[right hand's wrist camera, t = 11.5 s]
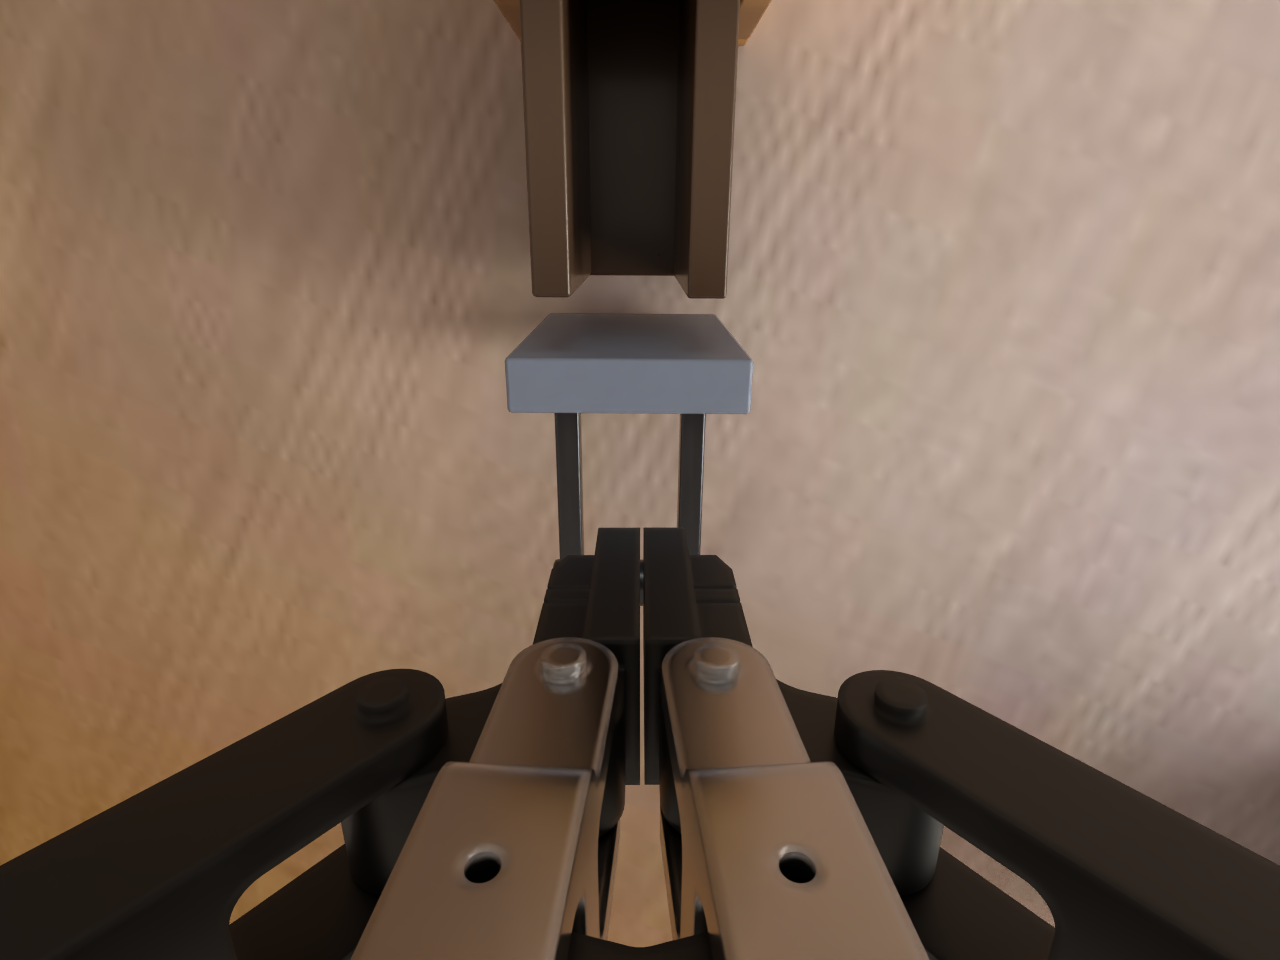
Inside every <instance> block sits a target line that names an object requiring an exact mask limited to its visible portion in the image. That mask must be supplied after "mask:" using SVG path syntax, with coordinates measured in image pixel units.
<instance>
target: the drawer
mask: <svg viewBox="0 0 1280 960" xmlns="http://www.w3.org/2000/svg"><path fill="white" fill-rule="evenodd" d="M519 11H520V33H521V55H522V77H523V99H524V121H525V143H526V165H527V187H528V209H529V231H530V253H531V275H532V293H533V295H534V296H535V297H569V296H570V295H571V294H572V293H573V292H574V291H575V290H576V289H577V288H578V287H579V286H580V285H581V284H582V283H583V282H584V281H585V280H586V279H587V277H588V276H589V275H653V276H675V278H676V279H677V281H678V282H679V284H680V285H681V287H682V288H683V290H684V292H685V293H686V295H687V296H688V297H689V298H725V297H726V288H727V267H728V246H729V224H730V203H731V182H732V161H733V139H734V118H735V97H736V76H737V54H738V33H739V12H740V0H519ZM505 372H506V388H507V405H508V410H509V412H512V413H555V436H556V463H557V491H558V518H559V545H560V559H557V560H555V562H554V566H553V568H554V567H555V566H556V565H557V564H559V563H560V562H561V561H562V560H563V559H564V558H565V557H566V556H567V555H584V532H583V489H582V447H581V413H664V414H680V434H679V471H678V509H677V528H685V530H686V537H687V544H688V550H689V555H700V543H701V518H702V493H703V467H704V442H705V417H706V414H747V413H749V411H750V405H751V388H752V372H753V361H752V359H751V358H750V357H749V356H748V354H747V353H746V352H745V351H744V349H743V348H742V347H741V346H740V344H739V343H738V342H737V341H736V340H735V338H734V337H733V336H732V335H731V333H730V332H729V331H728V330H727V328H726V327H725V326H724V325H723V324H722V322H721V321H720V320H719V319H718V317H717V316H716V315H714V314H557V313H551V314H549V315H548V316H547V317H546V318H545V319H544V320H543V321H542V322H541V323H540V324H539V325H538V326H537V327H536V328H535V329H534V330H533V331H532V332H531V333H530V334H529V335H528V336H527V337H526V339H525V340H524V341H523V342H522V343H521V344H520V345H519V346H518V347H517V348H516V349H515V350H514V351H513V352H512V353H511V354H510V355H509V356H508V357H507V358H506V360H505ZM643 582H644V560H640V606H643Z"/></svg>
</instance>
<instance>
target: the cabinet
mask: <svg viewBox="0 0 1280 960" xmlns="http://www.w3.org/2000/svg"><path fill="white" fill-rule="evenodd" d="M494 1H495V3H496V4H497V6H498V7H499V9H500V11H501V12H502V14H503V15H504V17H505V18H506V20H507V21H508V23H509V24H510V26H511V27H512V29H513V30H514V32H515V33H516V35H517V36H518V38H519V39H520V41H521V33H520V11H519V0H494ZM770 2H771V0H740V12H739V33H738V45H745V44H746V42H747V41H748V39H749V37H750V36H751V34H752V32H753V30H754V29H755V27H756V25H757V24H758V22H759V20H760V19H761V17H762V15H763V14H764V12H765V10H766V9H767V7H768V5H769V3H770Z"/></svg>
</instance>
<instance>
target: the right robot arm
mask: <svg viewBox="0 0 1280 960" xmlns="http://www.w3.org/2000/svg"><path fill="white" fill-rule="evenodd" d="M643 640H644V760H645V785H660V841H661V849H662V857H663V865H664V873H665V881H666V889H667V897H668V905H669V913H670V921H671V929H672V937H673V941H669V942H665V943H662V944H658V945H654V946H649V947H631V946H626V945H622V944H618V943H615V942H611V941H607V937H608V929H609V921H610V913H611V905H612V897H613V889H614V881H615V873H616V865H617V857H618V849H619V841H620V817H621V816H622V813H623V810H624V804H625V785H640V528H598V535H597V542H596V550H595V555H567V556H566V557H565V558H564V559H563V560H562V561H561V562H560V563H559V564H557V565H556V566H555V567H554V568H553V569H552V571H551V575H550V579H549V583H548V589H547V591H546V594H545V598H544V603H543V606H542V610H541V614H540V618H539V622H538V626H537V630H536V634H535V638H534V642H533V645H531V646H529V647H528V648H526V649H524V650H523V651H521V652H520V653H519V654H518V655H517V656H516V657H515V658H514V659H513V661H512V662H511V664H510V666H509V669H508V671H507V673H506V676H505V678H504V681H503V683H501V684H499V685H497V686H495V687H492V688H489V689H486V690H483V691H479V692H475V693H470V694H466V695H461V696H456V697H452V698H447V699H445V694H444V689H443V686H442V684H441V683H440V682H439V680H438V679H436V678H435V677H434V676H432V675H430V674H428V673H426V672H422V671H419V670H413V669H391V670H384V671H379V672H375V673H371V674H368V675H366V676H363V677H360V678H358V679H356V680H354V681H352V682H350V683H348V684H346V685H344V686H342V687H340V688H338V689H336V690H334V691H332V692H331V693H329V694H327V695H325V696H323V697H321V698H319V699H317V700H315V701H313V702H312V703H310V704H308V705H306V706H304V707H302V708H300V709H298V710H296V711H294V712H292V713H291V714H289V715H287V716H285V717H283V718H281V719H279V720H277V721H275V722H273V723H271V724H270V725H268V726H266V727H264V728H262V729H260V730H258V731H256V732H254V733H252V734H251V735H249V736H247V737H245V738H243V739H241V740H239V741H237V742H235V743H233V744H231V745H230V746H228V747H226V748H224V749H222V750H220V751H218V752H216V753H214V754H212V755H211V756H209V757H207V758H205V759H203V760H201V761H199V762H197V763H195V764H193V765H191V766H190V767H188V768H186V769H184V770H182V771H180V772H178V773H176V774H174V775H172V776H170V777H169V778H167V779H165V780H163V781H161V782H159V783H157V784H155V785H153V786H151V787H150V788H148V789H146V790H144V791H142V792H140V793H138V794H136V795H134V796H132V797H130V798H129V799H127V800H125V801H123V802H121V803H119V804H117V805H115V806H113V807H111V808H110V809H108V810H106V811H104V812H102V813H100V814H98V815H96V816H94V817H92V818H90V819H89V820H87V821H85V822H83V823H81V824H79V825H77V826H75V827H73V828H71V829H69V830H68V831H66V832H64V833H62V834H60V835H58V836H56V837H54V838H52V839H50V840H49V841H47V842H45V843H43V844H41V845H39V846H37V847H35V848H33V849H31V850H29V851H28V852H26V853H24V854H22V855H20V856H18V857H16V858H14V859H12V860H10V861H9V862H7V863H5V864H3V865H1V866H0V960H1280V866H1279V865H1277V864H1275V863H1273V862H1272V861H1270V860H1268V859H1266V858H1264V857H1262V856H1260V855H1258V854H1256V853H1254V852H1252V851H1251V850H1249V849H1247V848H1245V847H1243V846H1241V845H1239V844H1237V843H1235V842H1233V841H1232V840H1230V839H1228V838H1226V837H1224V836H1222V835H1220V834H1218V833H1216V832H1214V831H1212V830H1211V829H1209V828H1207V827H1205V826H1203V825H1201V824H1199V823H1197V822H1195V821H1193V820H1191V819H1190V818H1188V817H1186V816H1184V815H1182V814H1180V813H1178V812H1176V811H1174V810H1172V809H1171V808H1169V807H1167V806H1165V805H1163V804H1161V803H1159V802H1157V801H1155V800H1153V799H1151V798H1150V797H1148V796H1146V795H1144V794H1142V793H1140V792H1138V791H1136V790H1134V789H1132V788H1131V787H1129V786H1127V785H1125V784H1123V783H1121V782H1119V781H1117V780H1115V779H1113V778H1111V777H1110V776H1108V775H1106V774H1104V773H1102V772H1100V771H1098V770H1096V769H1094V768H1092V767H1090V766H1089V765H1087V764H1085V763H1083V762H1081V761H1079V760H1077V759H1075V758H1073V757H1071V756H1070V755H1068V754H1066V753H1064V752H1062V751H1060V750H1058V749H1056V748H1054V747H1052V746H1050V745H1049V744H1047V743H1045V742H1043V741H1041V740H1039V739H1037V738H1035V737H1033V736H1031V735H1029V734H1028V733H1026V732H1024V731H1022V730H1020V729H1018V728H1016V727H1014V726H1012V725H1010V724H1009V723H1007V722H1005V721H1003V720H1001V719H999V718H997V717H995V716H993V715H991V714H989V713H988V712H986V711H984V710H982V709H980V708H978V707H976V706H974V705H972V704H970V703H969V702H967V701H965V700H963V699H961V698H959V697H957V696H955V695H953V694H951V693H949V692H948V691H946V690H944V689H942V688H940V687H938V686H936V685H934V684H932V683H930V682H928V681H926V680H924V679H921V678H919V677H916V676H913V675H910V674H906V673H902V672H896V671H886V670H873V671H866V672H862V673H858V674H855V675H853V676H851V677H849V678H848V679H847V680H846V681H844V683H843V684H842V685H841V687H840V689H839V692H838V698H835V697H830V696H825V695H821V694H816V693H811V692H807V691H803V690H799V689H797V688H794V687H791V686H789V685H786V684H784V683H782V682H780V681H778V680H777V679H776V678H775V676H774V673H773V671H772V669H771V666H770V664H769V662H768V661H767V659H766V658H765V657H764V656H763V655H762V654H761V653H760V652H759V651H757V650H756V649H754V648H753V647H752V643H751V639H750V636H749V632H748V628H747V624H746V620H745V617H744V613H743V609H742V605H741V603H740V598H739V594H738V590H737V589H736V583H735V579H734V575H733V572H732V569H731V568H730V567H729V566H728V565H726V564H725V563H724V562H723V561H722V560H721V559H720V558H719V557H717V556H716V555H689V550H688V544H687V537H686V530H685V528H644V582H643ZM340 822H341V825H342V830H343V835H344V841H345V844H344V845H342V846H341V847H339V848H338V849H337V850H335V851H334V852H332V853H331V854H330V855H328V856H327V857H325V858H324V859H322V860H321V861H320V862H318V863H317V864H315V865H314V866H313V867H311V868H310V869H308V870H307V871H305V872H304V873H303V874H301V875H300V876H298V877H297V878H295V879H294V880H293V881H291V882H290V883H288V884H287V885H286V886H284V887H283V888H281V889H280V890H278V891H277V892H276V893H274V894H273V895H271V896H270V897H269V898H267V899H266V900H264V901H263V902H261V903H260V904H259V905H257V906H256V907H254V908H253V909H252V910H250V911H249V912H247V913H246V914H244V915H243V916H242V917H240V918H239V919H237V920H236V921H235V922H233V923H232V924H230V925H229V920H230V916H231V913H232V911H233V908H234V906H235V904H236V903H237V901H238V899H239V898H240V897H241V895H242V894H243V893H244V891H245V890H246V889H247V888H248V887H249V886H250V885H251V884H252V883H253V882H254V881H255V880H257V879H258V878H259V877H261V876H262V875H263V874H265V873H266V872H268V871H269V870H271V869H272V868H274V867H275V866H277V865H278V864H280V863H281V862H283V861H284V860H285V859H287V858H288V857H290V856H291V855H293V854H294V853H296V852H297V851H299V850H300V849H302V848H303V847H305V846H306V845H308V844H309V843H311V842H312V841H314V840H315V839H317V838H318V837H319V836H321V835H322V834H324V833H325V832H327V831H328V830H330V829H331V828H333V827H334V826H336V825H337V824H339V823H340ZM944 826H946V827H947V828H949V829H950V830H952V831H953V832H955V833H956V834H958V835H959V836H961V837H962V838H964V839H965V840H966V841H968V842H969V843H971V844H972V845H974V846H975V847H977V848H978V849H980V850H981V851H983V852H984V853H986V854H987V855H989V856H990V857H992V858H993V859H995V860H996V861H997V862H999V863H1000V864H1002V865H1003V866H1005V867H1006V868H1008V869H1009V870H1011V871H1012V872H1014V873H1015V874H1017V875H1018V876H1020V877H1021V878H1022V879H1024V880H1025V881H1026V882H1028V883H1029V884H1030V885H1031V886H1032V887H1033V888H1034V889H1035V890H1036V891H1037V892H1038V893H1039V894H1040V895H1041V896H1042V898H1043V899H1044V900H1045V902H1046V903H1047V905H1048V907H1049V909H1050V911H1051V913H1052V915H1053V918H1054V922H1055V928H1054V927H1053V926H1051V925H1050V924H1048V923H1047V922H1046V921H1044V920H1043V919H1041V918H1040V917H1038V916H1037V915H1036V914H1034V913H1033V912H1031V911H1030V910H1028V909H1027V908H1026V907H1024V906H1023V905H1021V904H1020V903H1019V902H1017V901H1016V900H1014V899H1013V898H1011V897H1010V896H1009V895H1007V894H1006V893H1004V892H1003V891H1002V890H1000V889H999V888H997V887H996V886H994V885H993V884H992V883H990V882H989V881H987V880H986V879H985V878H983V877H982V876H980V875H979V874H977V873H976V872H975V871H973V870H972V869H970V868H969V867H967V866H966V865H965V864H963V863H962V862H960V861H959V860H958V859H956V858H955V857H953V856H952V855H950V854H949V853H948V852H946V851H945V850H943V849H942V848H941V847H940V843H941V838H942V833H943V827H944Z"/></svg>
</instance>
